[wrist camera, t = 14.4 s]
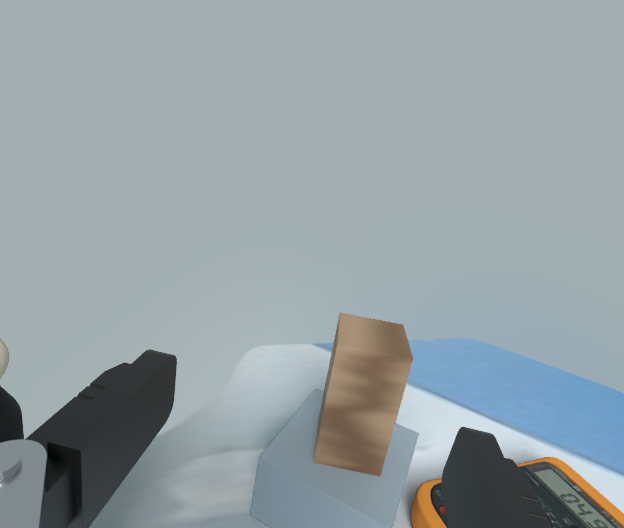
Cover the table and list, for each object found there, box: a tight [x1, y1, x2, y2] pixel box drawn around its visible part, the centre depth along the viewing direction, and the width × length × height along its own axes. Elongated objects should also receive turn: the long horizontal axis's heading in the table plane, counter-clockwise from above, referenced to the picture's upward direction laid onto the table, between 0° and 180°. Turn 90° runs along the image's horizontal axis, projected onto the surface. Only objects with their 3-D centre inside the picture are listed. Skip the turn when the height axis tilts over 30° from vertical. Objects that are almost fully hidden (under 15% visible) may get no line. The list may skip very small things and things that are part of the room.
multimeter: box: [411, 457, 624, 528], centre depth 31 cm, size 9×18×3 cm, turn 109°
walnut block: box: [313, 313, 413, 477], centre depth 28 cm, size 5×5×10 cm
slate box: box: [250, 389, 419, 528], centre depth 31 cm, size 10×10×6 cm
